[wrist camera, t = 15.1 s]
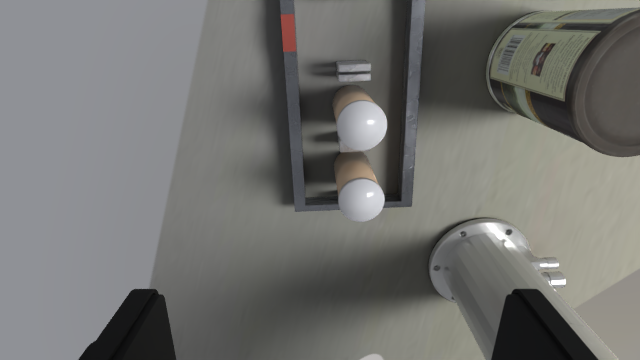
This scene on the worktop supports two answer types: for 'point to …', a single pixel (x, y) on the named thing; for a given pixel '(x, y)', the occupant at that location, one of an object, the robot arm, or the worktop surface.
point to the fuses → (358, 153)
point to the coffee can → (573, 75)
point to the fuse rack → (356, 73)
